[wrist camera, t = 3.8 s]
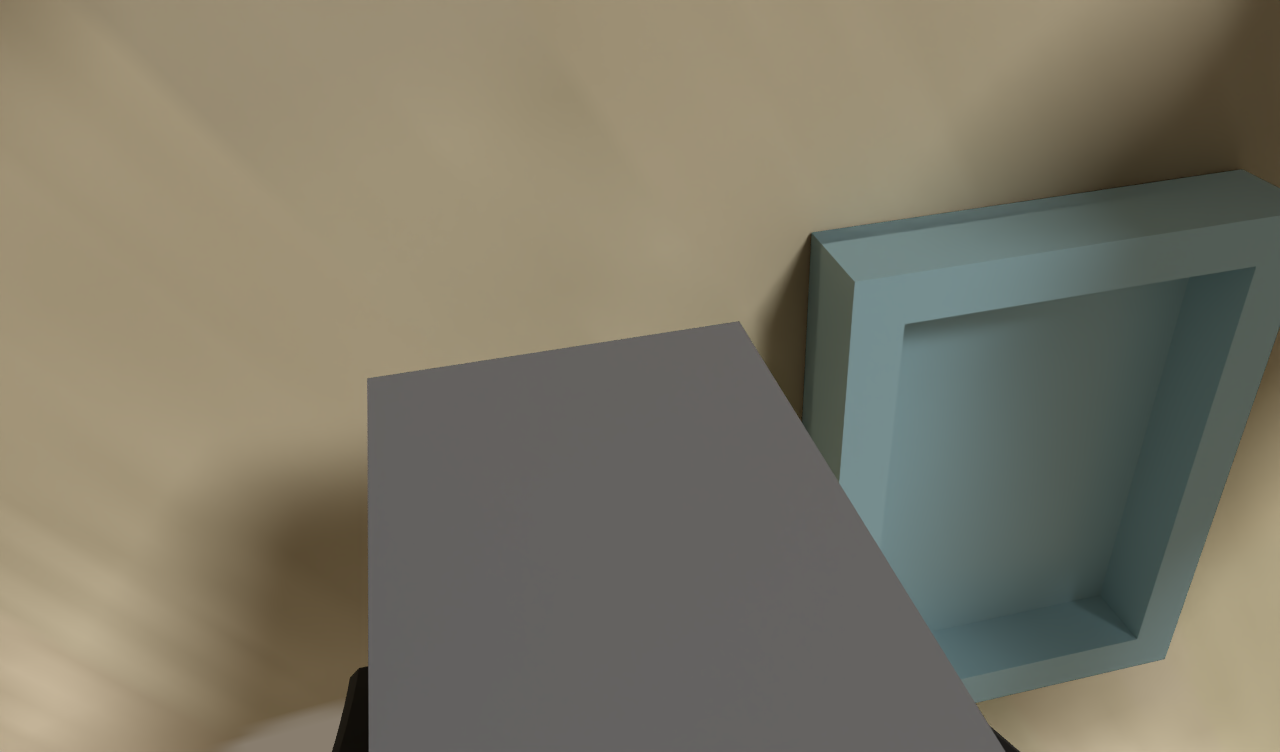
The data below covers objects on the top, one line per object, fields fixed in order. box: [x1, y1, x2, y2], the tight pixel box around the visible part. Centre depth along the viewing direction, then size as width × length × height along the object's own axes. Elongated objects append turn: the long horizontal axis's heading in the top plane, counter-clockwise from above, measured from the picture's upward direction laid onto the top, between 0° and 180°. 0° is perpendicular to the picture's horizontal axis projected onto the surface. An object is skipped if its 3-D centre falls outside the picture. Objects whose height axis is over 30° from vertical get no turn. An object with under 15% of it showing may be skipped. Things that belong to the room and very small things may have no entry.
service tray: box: [802, 169, 1280, 703], centre depth 22 cm, size 9×12×2 cm
